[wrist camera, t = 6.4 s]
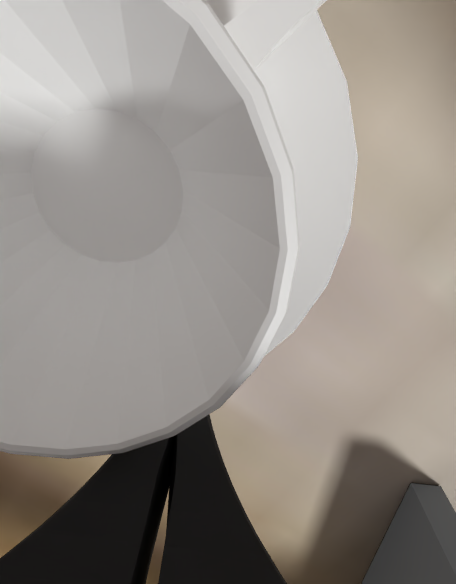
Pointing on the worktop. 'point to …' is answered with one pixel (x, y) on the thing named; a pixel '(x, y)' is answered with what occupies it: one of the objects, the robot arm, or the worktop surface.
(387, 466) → the worktop surface
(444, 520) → the cubby
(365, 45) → the worktop surface
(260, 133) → the teacup
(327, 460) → the worktop surface
